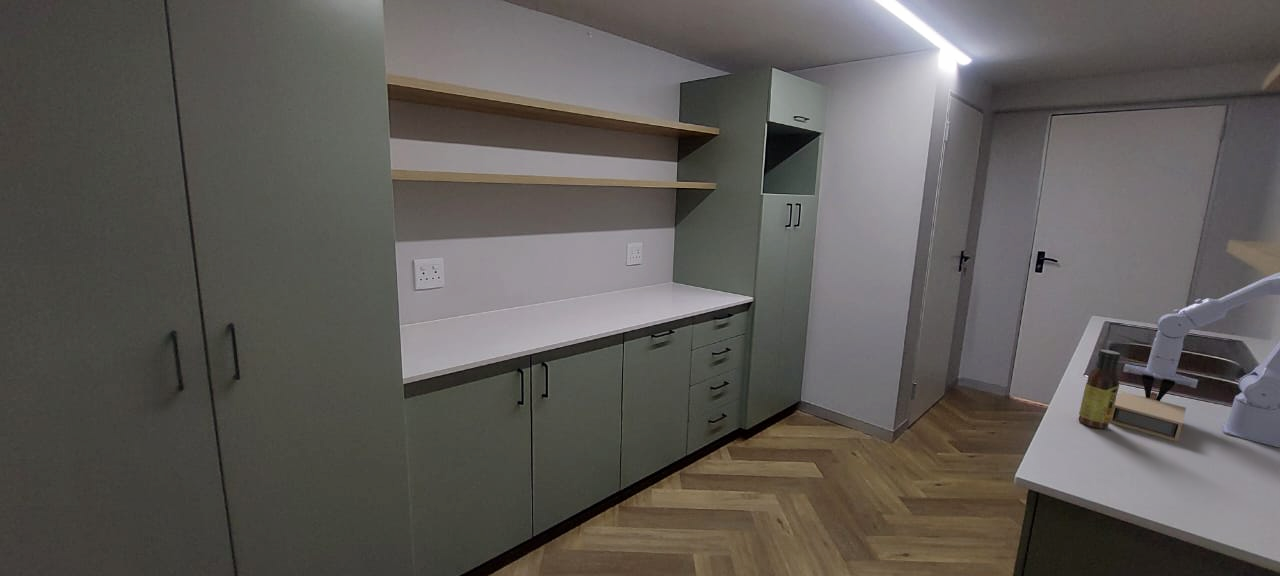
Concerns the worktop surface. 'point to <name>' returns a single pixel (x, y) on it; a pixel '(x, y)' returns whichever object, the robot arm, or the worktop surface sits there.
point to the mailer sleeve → (1149, 413)
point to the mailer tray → (1146, 420)
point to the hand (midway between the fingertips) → (1151, 403)
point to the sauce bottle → (1100, 391)
